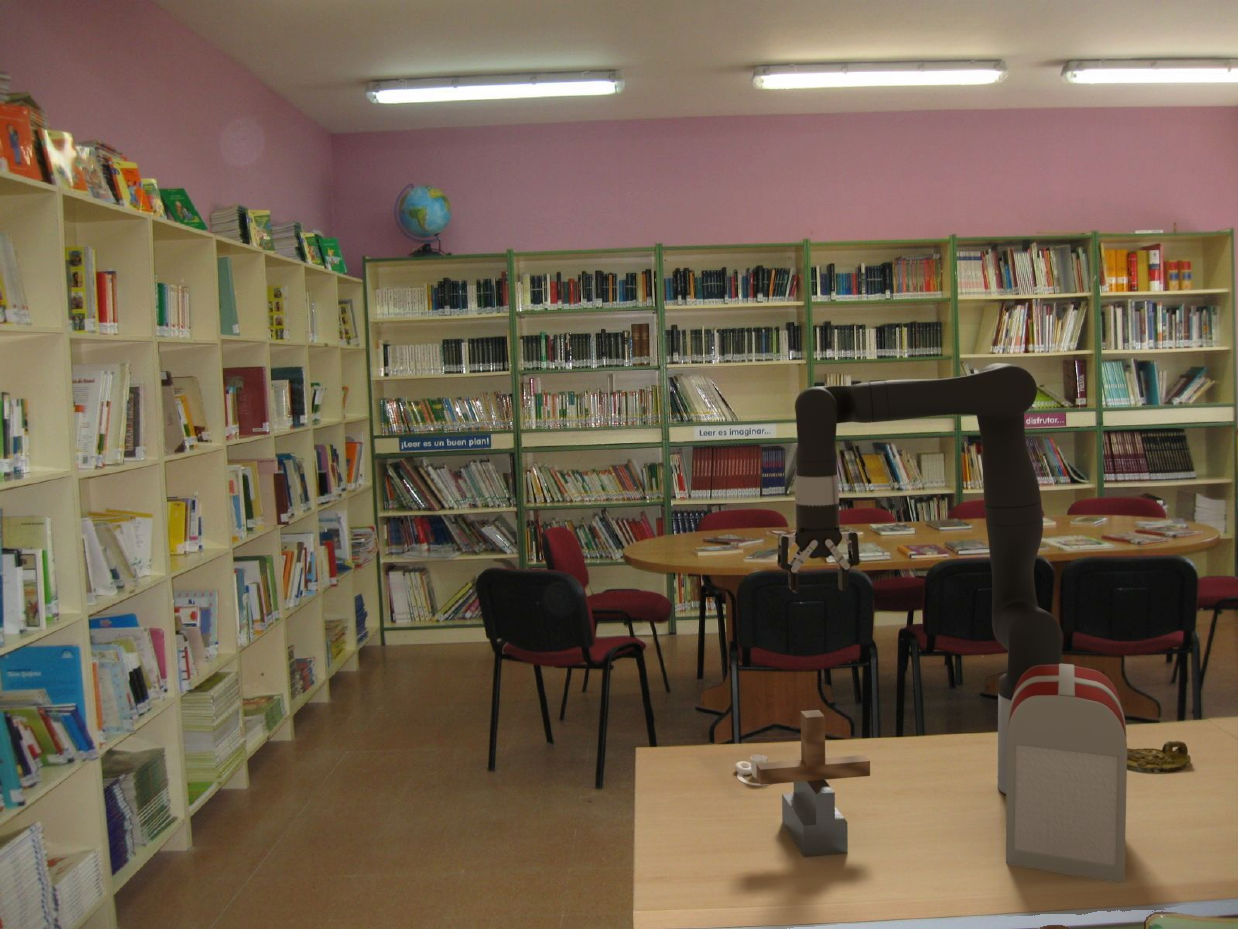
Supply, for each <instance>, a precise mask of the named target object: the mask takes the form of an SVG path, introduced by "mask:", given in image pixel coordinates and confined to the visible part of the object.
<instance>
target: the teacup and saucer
mask: <svg viewBox="0 0 1238 929" xmlns="http://www.w3.org/2000/svg"><path fill="white" fill-rule="evenodd" d="M749 760H750V761H744V760H743V761H741V760H740V761H738V762H736V763H735V765H734V769H735V771H736V772H737V775H736V778H737V779H738V781H740V782H741V783H743V784H746V785H748V786H749V785H750V786H756V787H757V786H758V787H759V786H761V787H764V786H770V785H772V784H766V785H760V783H759V782H758V783H756V782H752V781H751V782H750V781H748V780H746V779H745V778H744V776H749V775H751V776H752V778H753V779H755V780H757V772H756V763H768V757H767V756H766V755H764V754H752V755H751V756H750V758H749Z"/></svg>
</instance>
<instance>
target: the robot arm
mask: <svg viewBox="0 0 1238 929" xmlns="http://www.w3.org/2000/svg"><path fill="white" fill-rule="evenodd" d="M1037 386H1038V385H1037V383H1036V381H1035V378H1034V377H1033V375H1032V374H1031V373H1030V372H1029V371H1028V370H1026V369H1025V368H1024V367H1022V366H1019V365H1017V364H1013V363H1005V362H1004V363H1003V362H1002V363H1001V362H997V363H995V362H994V363H992V364H989V365H987V366H984V368H982V369H981V370H980V371H979V372H977V373H972V374H968V375H962V376H956V377H949V378H948V377H947V378H946V377H945V378H932V379H931V378H929V379H928V378H926V379H924V378H922V379H917V378H916V379H912V378H911V379H890V380H878V381H877V380H876V381H868V382H861V383H856V384H851V385H849V384H848V385H845V384H844V385H843V384H842V385H824V386H823V385H821V386H810V387H807V388H805V389H804V390H802V391H801V392H800V393H799V394H798V396H797V397H796V399H795V403H794V411H795V420H796V421H795V422H796V423H795V424H796V438H797V447H796V453H795V457H796V458H795V460H796V461H795V464H796V465H795V468H796V470H795V472H796V479H795V491H794V492H795V494H794V499H795V500H794V501H795V526H796V527H795V529H796V530H795V532H794V535H785V534H784V533H781V534H779V535H778V539H777V541H778V543H777V560H776V561H777V564H776V565H777V567H779V568H780V569H781V570H784V571H787V578H788V579H787V580H788V585H787V586H788V588H789V589H790V591H792V593H794V594H799V593H800V574H799V572H798V570H799V569H800V568H801V566H802V565H803V564H804V563H805V562H806V561H807V559H808V558H810V559H812V560H813V559H817V558H823V559H829V557H831V558H832V559H834V561H835V562H836V563H837V565H838V566H839V567H837V586H838V588H837V589H839V590H840V591H846V590H847V588H848V587H849V585H850V571H849V570H850V569H851V568H852V567H854V566H855V567H856V566H859V565H860V549H859V548H860V547H859V535H858V533H857V532H855V531H853V530H848V531H845V532H841V530H840V489H839V488H840V486H839V481H838V458H837V457H838V455H837V448H836V441H837V427H838V426H837V425H838V424H844V423H845V424H846V423H860V424H870V423H881V422H882V423H883V422H892V421H903V420H910V419H919V418H921V419H922V418H929V417H939V416H952V415H953V416H955V415H956V416H957V415H959V416H960V415H964V416H965V415H966V416H968V415H970V416H971V415H973V416H974V415H975V416H976V420H977V425H978V431H979V435H980V436H979V437H980V442H981V451H982V461H981V462H982V487H983V504H984V507H983V508H984V513H985V514H984V515H985V525H986V526H985V527H986V532H987V539H988V541H987V543H988V551H989V559H990V560H989V561H990V567H991V577H992V580H991V581H992V583H991V584H992V596H991V598H992V601H991V602H992V605H991V625H992V626H991V627H992V631H993V636H994V637H995V639H996V641H997V642H998V643H999V644H1000V645H1001V646H1002V647H1003V648H1004V649H1005V650H1007V651H1008V653H1007V654H1008V656H1007V668H1006V669H1007V671H1006V673H1004V674H1002V675H1001V676H1000V677H999V679H998V683H997V684H998V696H997V697H998V698H997V700H998V703H997V705H998V706H997V708H998V709H997V712H998V713H997V789H998V790H999V791H1000V792H1001V793H1003V794H1004V795H1006V784H1007V730H1008V715H1009V710H1010V704H1011V701H1012V698H1013V694H1014V690H1015V687H1016V685H1017V683H1018V681H1019V679H1020V677H1021V676H1022V675H1023V674H1024V673H1025V672H1026V671H1027V670H1028V669H1030V668H1032V667H1034V666H1038V665H1059V664H1062V658H1063V656H1062V655H1063V635H1062V634H1063V632H1062V628H1061V626H1060V623H1059V621H1058V620H1057V618H1056V617H1055V616H1054V614H1052V613H1050V612H1048V611H1047V610H1045V609H1043V608H1041V607H1040V606H1039V603H1038V599H1037V593H1036V585H1035V572H1034V571H1035V564H1036V559H1037V556H1038V553H1039V551H1040V550H1039V549H1040V546H1041V542H1042V538H1043V533H1044V518H1043V516H1044V514H1043V507H1042V506H1043V505H1042V495H1041V490H1040V485H1039V482H1038V478H1037V474H1036V470H1035V467H1034V465H1033V461H1032V458H1031V456H1030V452H1029V449H1028V446H1027V440H1026V430H1025V429H1026V428H1025V413H1026V412H1027V411H1028V410H1030V409H1031V407H1032V406H1033V405H1034V403H1035V401H1036V399H1037V395H1038V388H1037ZM842 541H843V542H844V543H845V544H846V545H847V554H848V556H847V558H845V557H844V555H843V554H842V552H841V551H840V550H839V549H838V546H839V545H840V543H841V542H842ZM793 543H795V544H796V546H797V547H798V548H797V549H796V551H795V553H794V554H793V556H792V558H791V560H790V561H789V548H791V547H792V545H793Z"/></svg>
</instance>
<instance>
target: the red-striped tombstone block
mask: <svg viewBox="0 0 1238 929" xmlns="http://www.w3.org/2000/svg"><path fill="white" fill-rule="evenodd" d="M1125 719H1126V718H1125V714H1124V710H1123V707H1122V702H1121V698H1120V696H1119V693H1118V691H1117V689H1116V687H1115V685H1114V683H1113V682H1112V681H1111V680H1110V679H1109V677H1107V676H1106V675H1105V674H1103V673H1102V672H1100V671H1098V670H1096V669H1092V668H1087V667H1081V666H1076V665H1075V664H1071V663H1061V664H1059V665H1038V666H1034V667H1032V668H1030V669H1028V670H1027V671H1026V672H1025V673H1024V674H1023V675H1022V676H1021V677H1020V679H1019V681H1018V683H1017V685H1016V687H1015V690H1014V694H1013V698H1012V701H1011V704H1010V710H1009V715H1008V730H1007V784H1006V794H1005V795H1006V798H1005V799H1006V800H1005V801H1006V802H1005V803H1006V805H1005V809H1006V810H1005V812H1006V814H1005V815H1006V816H1005V863H1006V864H1008V865H1011V866H1018V867H1023V868H1030V869H1037V870H1042V871H1046V872H1047V871H1048V872H1054V873H1061V874H1066V875H1072V876H1077V877H1085V878H1090V879H1096V880H1101V881H1108V882H1115V883H1120V884H1121V883H1125V881H1126V880H1125V874H1126V873H1125V872H1126V834H1127V833H1126V830H1127V829H1126V828H1127V822H1126V820H1127V785H1128V784H1127V782H1128V781H1127V780H1128V779H1127V777H1128V774H1127V773H1128V769H1127V748H1128V742H1127V725H1126V720H1125Z"/></svg>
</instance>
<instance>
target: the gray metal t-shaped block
mask: <svg viewBox="0 0 1238 929" xmlns="http://www.w3.org/2000/svg"><path fill="white" fill-rule="evenodd" d="M835 795H836V794H835V790H833V788H832V787H831V785H830V784H829V783H828V782H827V781H826V780H815V781H803V782H793V792H783V793H782V792H781V810H782V811H781V812H782V813H781V814H782V817H781V818H782V824H783V826H784V827H785V829H786V831H787V832H788V834H789V835H790V837H791V838H792V840H793V842H794V843H795V845H796V846H797V848H798V850H799V851H800V853H801V854H802V856H803V857H804V858H807V857H817V856H818V857H819V856H829V855H840V854H848V850H849V849H848V846H849V845H848V844H849V843H848V840H849V839H848V838H849V837H848V835H849V832H848V820H846V818H845V817H844V815H843V814H842V813H841V812H840V810H839V809H838V808H837V807H836V796H835Z"/></svg>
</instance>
